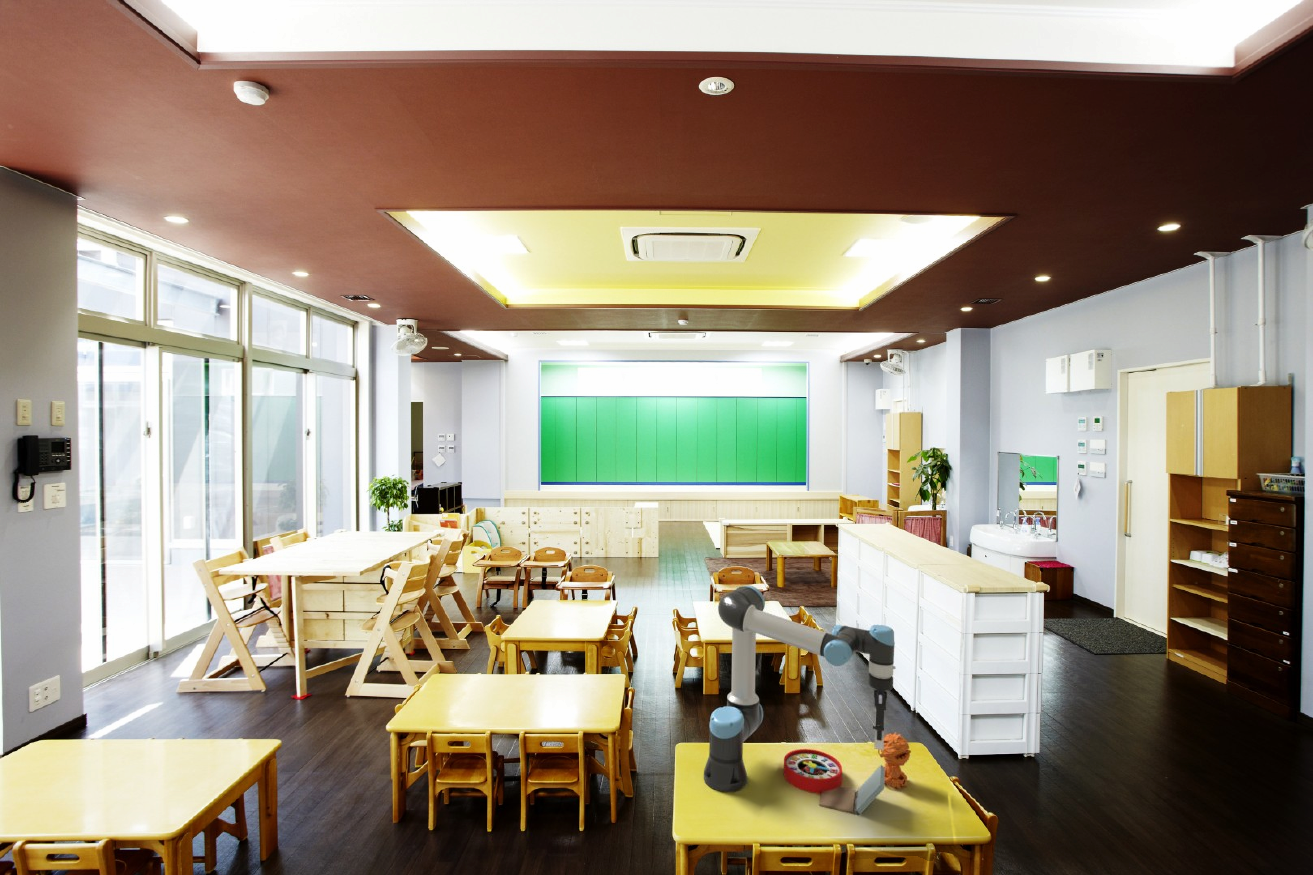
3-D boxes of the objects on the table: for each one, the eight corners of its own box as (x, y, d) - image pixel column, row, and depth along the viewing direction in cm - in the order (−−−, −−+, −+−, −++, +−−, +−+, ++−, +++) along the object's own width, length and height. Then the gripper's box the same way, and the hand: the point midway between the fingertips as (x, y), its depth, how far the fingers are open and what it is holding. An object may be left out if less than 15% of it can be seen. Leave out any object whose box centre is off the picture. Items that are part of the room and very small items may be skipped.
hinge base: (819, 808, 203) (819, 803, 203) (823, 786, 215) (823, 782, 215) (858, 817, 199) (858, 812, 199) (860, 795, 211) (860, 790, 211)
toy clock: (787, 744, 233) (843, 755, 226) (786, 760, 233) (842, 770, 226) (780, 772, 214) (841, 784, 207) (779, 789, 214) (840, 802, 207)
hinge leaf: (856, 817, 199) (852, 813, 199) (859, 795, 211) (855, 791, 211) (884, 788, 196) (879, 785, 196) (884, 767, 208) (881, 764, 208)
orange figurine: (913, 795, 211) (915, 743, 211) (879, 791, 213) (881, 739, 213) (907, 777, 222) (908, 727, 222) (874, 773, 224) (876, 724, 224)
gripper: (893, 691, 190) (891, 760, 190) (892, 662, 213) (891, 724, 214) (867, 687, 192) (865, 755, 193) (869, 659, 216) (867, 720, 216)
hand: (879, 739), depth 203 cm, fingers open, 13 cm apart
